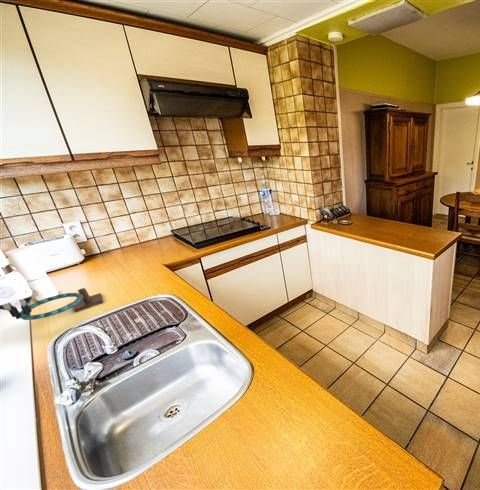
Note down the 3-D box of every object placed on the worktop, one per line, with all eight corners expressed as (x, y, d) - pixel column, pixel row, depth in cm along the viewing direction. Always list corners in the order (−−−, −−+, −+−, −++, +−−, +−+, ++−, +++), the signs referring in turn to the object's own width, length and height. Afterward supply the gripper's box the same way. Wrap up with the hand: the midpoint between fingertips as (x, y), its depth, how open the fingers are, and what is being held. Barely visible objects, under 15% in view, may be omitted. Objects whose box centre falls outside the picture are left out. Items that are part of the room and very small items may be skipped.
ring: (17, 327, 93) (14, 323, 92) (23, 307, 103) (21, 304, 103) (83, 306, 104) (82, 302, 103) (82, 291, 114) (81, 287, 114)
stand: (75, 312, 115) (66, 297, 112) (75, 304, 121) (67, 290, 118) (103, 302, 121) (95, 288, 118) (101, 295, 127) (94, 282, 124)
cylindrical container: (57, 291, 132) (30, 245, 123) (58, 295, 128) (30, 249, 118) (36, 298, 127) (5, 251, 118) (36, 303, 123) (4, 254, 113)
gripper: (-48, 285, 84) (-13, 331, 91) (28, 267, 94) (54, 310, 101) (-41, 277, 89) (-9, 321, 96) (31, 261, 99) (55, 302, 106)
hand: (23, 315), depth 98 cm, fingers closed on ring, 1 cm apart
